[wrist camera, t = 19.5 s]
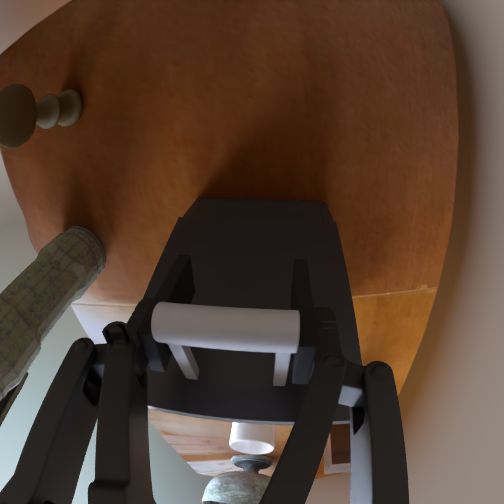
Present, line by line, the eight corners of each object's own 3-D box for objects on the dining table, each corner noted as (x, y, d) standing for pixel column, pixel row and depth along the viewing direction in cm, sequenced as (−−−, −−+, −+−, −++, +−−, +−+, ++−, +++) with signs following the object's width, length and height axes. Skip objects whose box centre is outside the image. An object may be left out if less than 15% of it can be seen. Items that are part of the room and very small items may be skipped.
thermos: (91, 211, 35) (-88, 408, 5) (117, 282, 41) (0, 482, 11) (52, 219, 36) (-101, 378, 6) (77, 282, 42) (-35, 448, 12)
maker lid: (363, 422, 13) (418, 371, 9) (113, 399, 15) (51, 340, 10) (334, 228, 27) (345, 159, 22) (180, 223, 28) (167, 158, 23)
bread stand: (317, 394, 51) (320, 461, 38) (374, 391, 50) (385, 454, 37) (309, 420, 57) (309, 477, 44) (358, 417, 56) (365, 472, 43)
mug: (234, 387, 52) (226, 438, 42) (277, 389, 51) (274, 440, 41) (240, 414, 57) (234, 458, 48) (277, 416, 57) (274, 460, 47)
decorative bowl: (295, 471, 78) (291, 518, 61) (226, 469, 83) (217, 513, 66) (287, 445, 67) (282, 506, 49) (202, 442, 72) (188, 497, 54)
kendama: (100, 122, 29) (-32, 168, 12) (48, 134, 30) (-66, 184, 12) (97, 77, 26) (-39, 92, 9) (45, 95, 27) (-73, 126, 9)
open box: (311, 314, 40) (314, 345, 35) (208, 309, 42) (199, 339, 37) (325, 201, 32) (334, 222, 27) (196, 198, 33) (180, 218, 28)
